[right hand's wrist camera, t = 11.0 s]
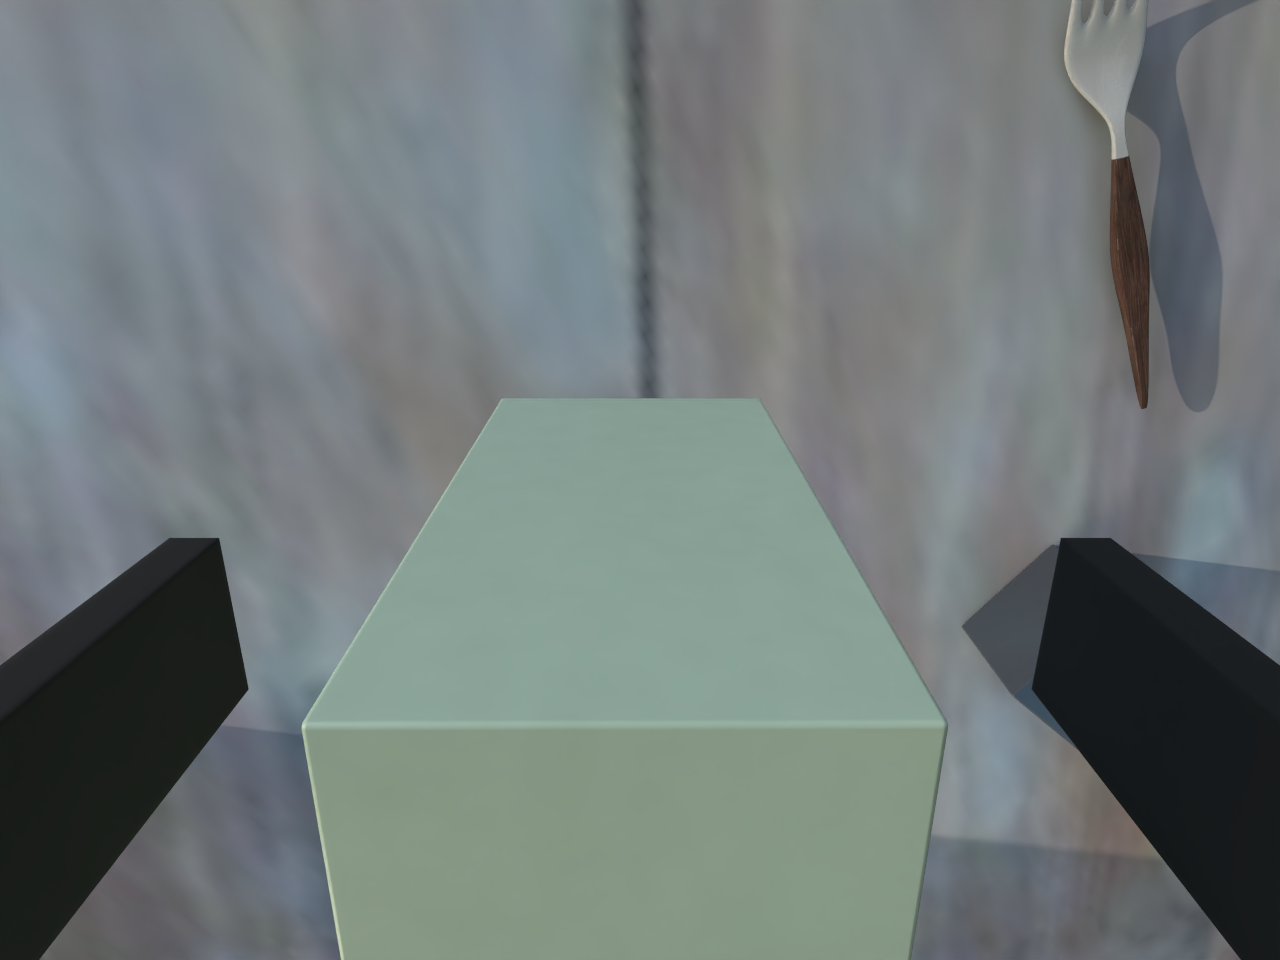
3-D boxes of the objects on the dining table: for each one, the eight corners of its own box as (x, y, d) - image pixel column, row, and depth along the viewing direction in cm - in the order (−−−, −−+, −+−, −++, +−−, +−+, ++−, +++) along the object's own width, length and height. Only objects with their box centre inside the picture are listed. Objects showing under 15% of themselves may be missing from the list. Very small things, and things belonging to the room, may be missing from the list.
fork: (1100, 414, 31) (1130, 429, 29) (1050, -52, 26) (1082, -71, 24) (1170, 395, 31) (1205, 409, 29) (1133, -80, 25) (1173, -101, 23)
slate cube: (1052, 543, 33) (1121, 603, 28) (1130, 613, 34) (1209, 681, 29) (960, 626, 34) (1012, 696, 29) (1038, 690, 35) (1099, 768, 31)
